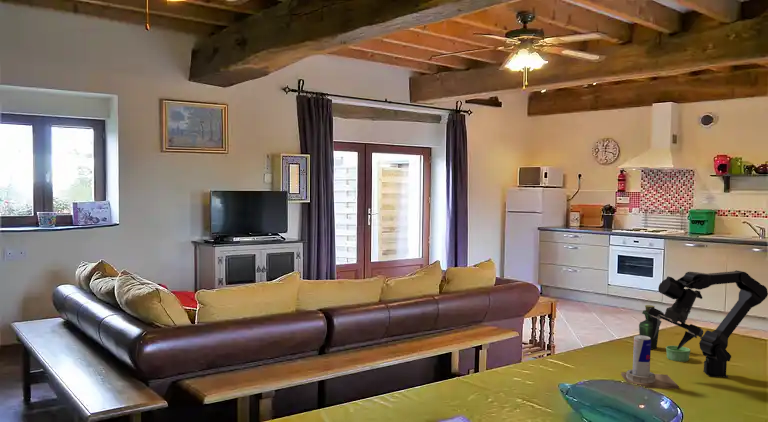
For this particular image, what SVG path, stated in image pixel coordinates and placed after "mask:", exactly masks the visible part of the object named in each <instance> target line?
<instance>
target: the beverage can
mask: <svg viewBox="0 0 768 422" xmlns="http://www.w3.org/2000/svg"><path fill="white" fill-rule="evenodd" d="M632 350H633V352H632V354H633V356H632V369H633V375H636V376H641V377H649V376H650V372H651V351H652V349H651V338H650V337H648V336H642V335H640V334H639V335H638V334H637V335H634V338H633V349H632Z"/></svg>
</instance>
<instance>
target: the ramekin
mask: <svg viewBox="0 0 768 422" xmlns="http://www.w3.org/2000/svg"><path fill="white" fill-rule="evenodd" d="M677 347H678V345H667V346H666V347H665V350H666V358H667V359H668V360H671V361H675V362H679V363H680V362H681V363H683V362H688V361H689V360H690V354H691V349H690V348H689V347H686V346H682V347H681V348H680V349H679V350H678V349H677Z"/></svg>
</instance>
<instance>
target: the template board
mask: <svg viewBox="0 0 768 422" xmlns="http://www.w3.org/2000/svg"><path fill="white" fill-rule="evenodd" d="M620 375H621V377H622V378H623V379H624V380H625V382H626V383H627V382H628V383H633V384H637V385H641V386H645V387H644V388H653V389H655V388H656V389H673V390H679V389H680V387H679V384H677V382H676V381H674V380H673V379H672V378H671V377H670V376H669V375H668V374H665V373H664V374H663V373H662V374H661V373H659V374H658V373H654V372H652V371H650V376H649V377H641V376H636V375H633V368H632V369H628V370H627V371H626V372H623V371H622V372H620ZM628 383H627V384H628Z"/></svg>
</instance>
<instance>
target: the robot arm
mask: <svg viewBox="0 0 768 422" xmlns="http://www.w3.org/2000/svg"><path fill="white" fill-rule="evenodd" d="M726 284H736V287H738V289H740V290H739V291H738V300H737V301H736V303H735V304H734V305H733V306H732V308H731V309H730V310H729V311H728V313H727V314H726V315H725V317H724V318H723V319H722V320H721V322H720V324H719V325H718V326H717V327H716V328H715V329H714V330H713V331H711V330H706V331H705V332H704V330H703V329H702V328H701V327H699V326H697V325H694V324H693V323H690V324H687V323H686V322H687V320H688V316H689V314H690V313H691V310H692V308H693V305H694V303H695V301H696V299H697V298H698V299H701V300H702V299H703V296H702V294H701V291H700V290H703V289H707V288H709V287H711V286H714V285H726ZM693 289H695V290H693ZM658 292H659V293H660V294H661V295H664V296H666V297H667V298H670V299H671V300H675V301H674V302H673V303H672V305H671V306H669V307H666V310H665V312H663V311H662V310H660V309H657V308H655V307H654V308H653V307H652V308H650V309H649V311H648V314H649V315H651V316H650V317H651V318H652V320H653V334H652V338H654V337H655V336H656V334H657V331H658V329H659V330H660V326H661V324H662V322H663V321H662V320H664V321H666V322H669V323H671V324H674V325H675V326H677V327H680V328H683V329H684V330H685V332H684V334H683V336H682V338H681V340H680V341H679V344H678V345H677V346H678V347H677V349H678V350H679V349H680V348H681V347H684V346H685V344H687V343H688V342H689V341H690V340H692V339H694V338H695V339H697V338H698V337H699V338H700V340H699V343H698V345H699V348H700V350H701V353H702V356H704V357H705V360H704V361H703V373H704V374H706V375H707V377H710V378H729V376H728V375H727V363H728V362H731V359H732V355H731V354H730V353H729V352H728V350H727V347H728V346H729V339H730V336H731V335H732V334H733V333H734V331H735V330H736V328H737V327H738V326H739V325H740V323H741V322H742V321H743V319H744V318H745V317H746V315H748V313H749V312H750V310H751V309H752V308H754V307H757V306H758V305H760V304H762V302H763V301H765V300H766V299H767V297H768V288H767V287H766V286H765V285H763V284H761V283H760V282H759V281H757V280H756V279H755V278H753V277H752V276H751V275H750V274H748V273H747V271H742V270H733V271H723V272H710V273H704V272H697V271H696V272H695V271H686V272H685V273H684V275H683V276H682V277H680V278H678V279H675V278H674V277H672V276H669V275H668V276H667V277H666V279H663V280H662V281H661V282H660V283H659V285H658ZM679 322H680V323H679Z"/></svg>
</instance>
